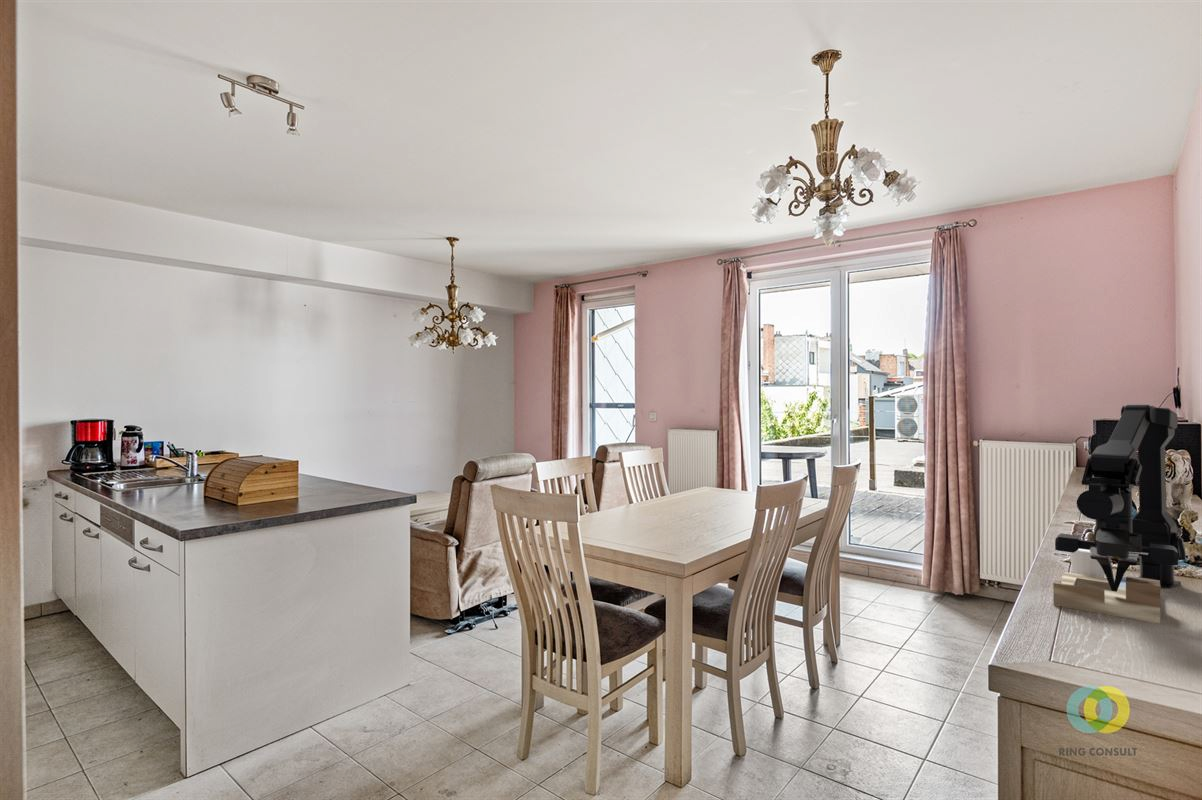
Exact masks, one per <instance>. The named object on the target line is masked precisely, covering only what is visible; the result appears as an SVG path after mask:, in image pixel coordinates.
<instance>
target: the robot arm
mask: <svg viewBox="0 0 1202 800" xmlns="http://www.w3.org/2000/svg"><path fill="white" fill-rule="evenodd" d="M1120 410H1121V411H1120V417H1119V420H1118V421H1117V424H1116V425H1115V428H1114V429H1113V431H1112V434H1111V435H1110V437H1109V439H1108V441H1107V442H1106V443H1103V444H1101V445H1098V446H1096V448H1095V449H1094V451H1092V453H1091V455H1089V457H1088V458H1087V460H1086V465H1085V468H1084V471H1083V477H1082V478H1081V479H1082V480H1081V485H1082V486H1088V489H1087V490H1085V491H1083V492H1081V493H1080V494H1079V495H1078V497H1077V499H1076V507H1077V510H1078V511H1079V512H1080V513H1081V514H1082V515H1083V516H1084V517H1086V518H1088V519H1091V520H1094V521H1095V531H1094V533H1093V534H1094V535H1093V536H1094V540H1086V539H1085V540H1084V539H1082V537H1081V535H1080V534H1079V535H1078V534H1069V533H1059V534H1058V535H1057V536H1056V537H1055V538H1054V546H1055V547H1054V550H1055V551H1058V552H1065V553H1070V552H1072V553H1074V552H1075V551H1077V550H1078V549H1086V550H1090V552H1091V555H1090V558H1091V559H1096V560H1097V561H1098V562H1099V564H1100V565H1101V567H1102V569H1103V571H1104V573H1105V578H1107V580H1108V583H1109V585H1110V588H1111V590H1112V591H1115V592H1117V590H1118V588H1119V585H1120V583H1121V580H1122V578H1123V576H1124V575H1125V574H1126V572H1127V570H1128V569H1129V568H1130V566H1131V565H1139V576H1138V577H1139V578H1146V579H1153V580H1160V588H1166V589H1171V588H1174V587H1177V586H1179V585H1182V581H1179V580H1175V566H1179V561H1186V560H1187V552H1186V547H1185V543H1184V540H1183V539H1182V537H1181V534H1180V533H1179V532H1178V525H1177V523H1176V521H1175V520H1174V519H1173V517H1171V515H1170V513H1168V511H1167V483H1166V481H1167V479H1166V473H1167V472H1166V447H1167V445H1168V444H1169V443H1170V441H1171V440H1172V439H1173V438H1174V436H1175V434H1176V433H1175V431H1176V429H1177V428H1178V425H1179V419H1178V414H1177V412H1175V411H1173V410H1172V409H1170V408H1169V407H1157V406H1154V405H1150V404H1126V405H1122V407H1121V409H1120ZM1137 485H1138V501H1139V503H1138V505H1139V508H1138V509H1139V510H1138V512H1137V513H1136V515H1135V516H1134V517H1133V492H1132V490H1133V488H1134V486H1137ZM1111 557H1115V558H1117V559H1118V560H1117V566H1116V572H1115V577H1114V571H1113V570H1114V569H1113V565H1112V558H1111ZM1124 577H1125V576H1124ZM1114 579H1115V582H1114Z"/></svg>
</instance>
